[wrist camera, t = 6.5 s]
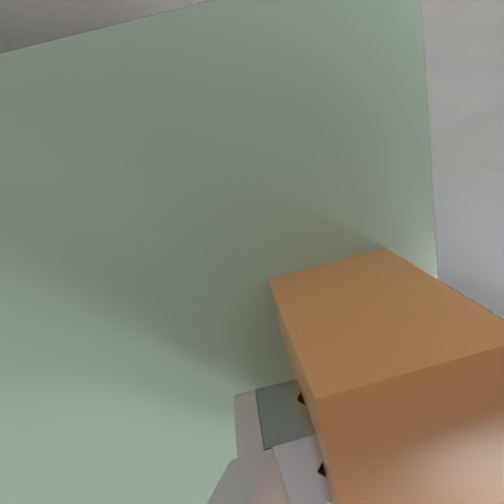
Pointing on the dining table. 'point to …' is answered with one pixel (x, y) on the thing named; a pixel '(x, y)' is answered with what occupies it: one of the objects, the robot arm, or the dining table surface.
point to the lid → (233, 259)
